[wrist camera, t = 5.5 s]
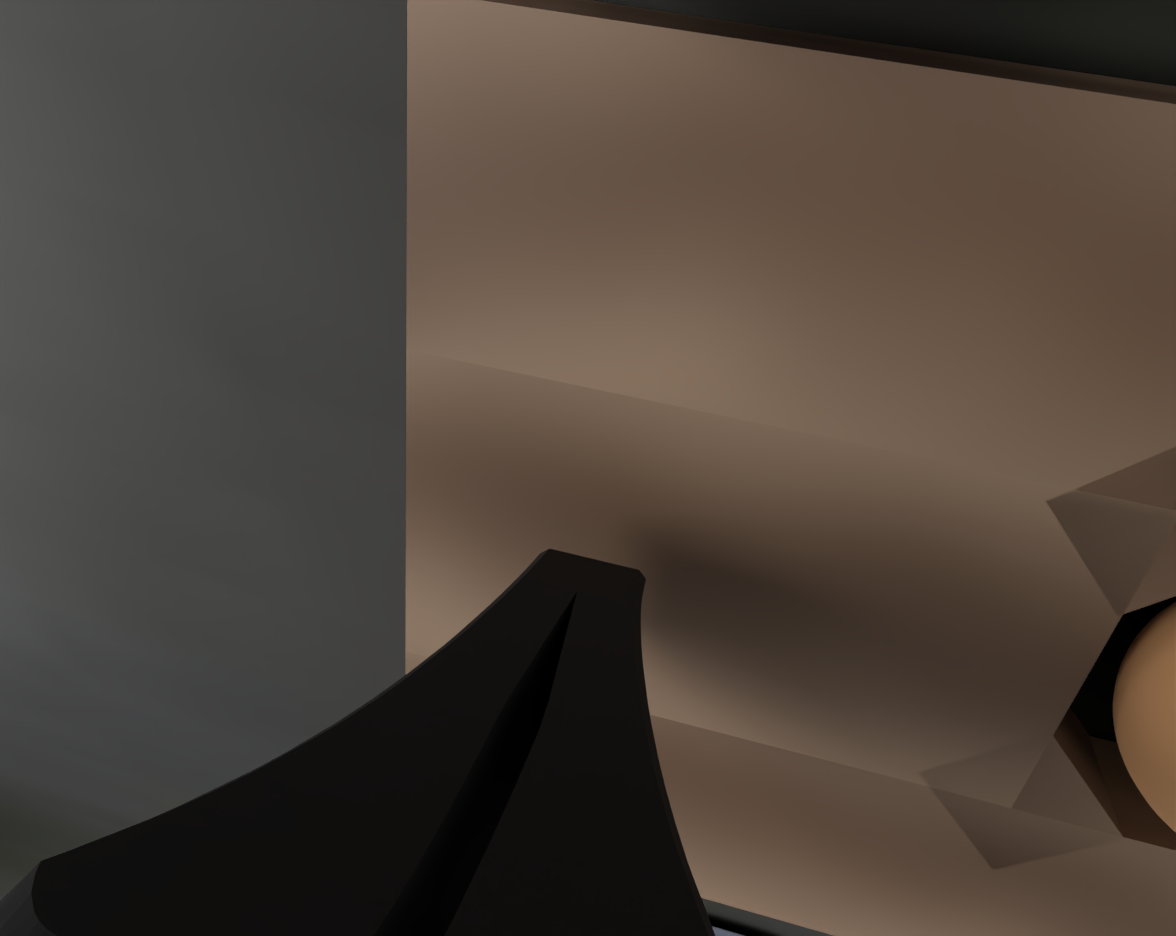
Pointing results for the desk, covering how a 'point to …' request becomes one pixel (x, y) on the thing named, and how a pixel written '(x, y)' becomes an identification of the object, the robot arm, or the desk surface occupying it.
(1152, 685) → the ball
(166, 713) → the desk surface
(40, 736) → the desk surface
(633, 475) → the hole board
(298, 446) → the desk surface
